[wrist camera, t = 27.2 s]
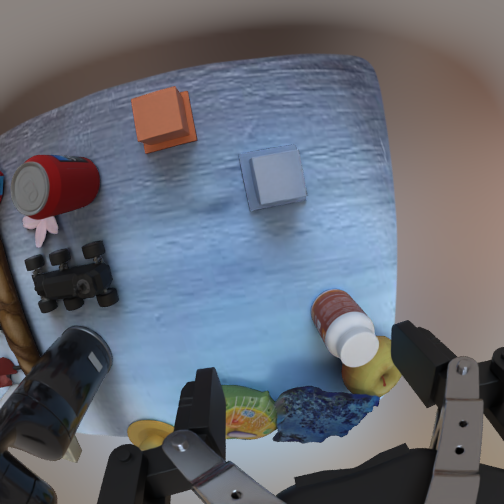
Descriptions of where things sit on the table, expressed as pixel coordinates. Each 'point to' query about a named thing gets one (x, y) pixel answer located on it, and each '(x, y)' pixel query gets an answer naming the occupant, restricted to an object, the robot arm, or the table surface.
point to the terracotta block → (160, 116)
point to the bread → (15, 319)
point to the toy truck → (1, 185)
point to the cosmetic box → (73, 451)
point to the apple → (373, 373)
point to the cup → (148, 433)
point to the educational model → (248, 413)
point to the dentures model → (6, 372)
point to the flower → (41, 227)
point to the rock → (319, 413)
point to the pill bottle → (344, 328)
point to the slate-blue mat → (248, 177)
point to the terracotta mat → (180, 140)
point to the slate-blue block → (278, 177)
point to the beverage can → (54, 185)
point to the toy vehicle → (73, 279)
